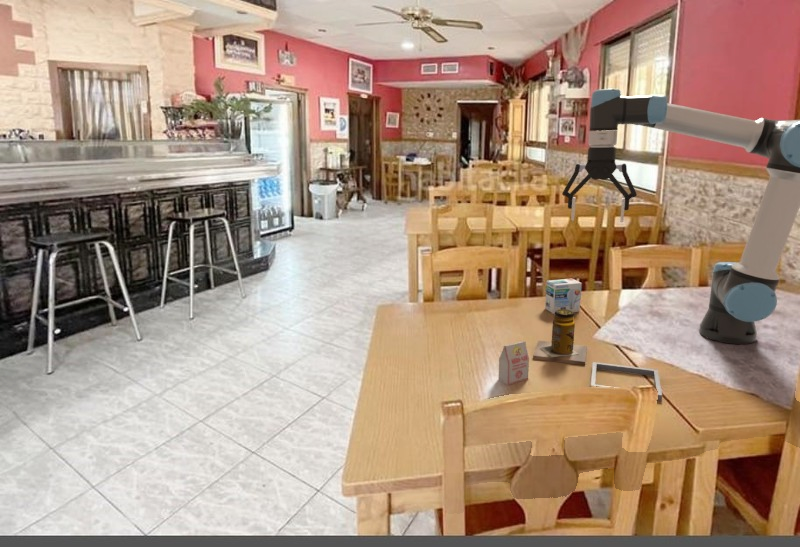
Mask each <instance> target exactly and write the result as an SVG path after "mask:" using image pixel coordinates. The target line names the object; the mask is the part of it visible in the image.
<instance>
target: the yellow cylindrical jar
mask: <svg viewBox="0 0 800 547" xmlns="http://www.w3.org/2000/svg"><path fill="white" fill-rule="evenodd" d="M553 318H554V319H553V320H552V330H551V331H552V332H551V342H552V345H551V346H547V347H540V348H541V349H542V350H543V351H544V352H545V353H546V354H548V355H549V356H551V357H558V356H569V355H577V354H578V353H577V352H575V351H574V350H573V345H575V344H574V341H575V326H576V325H575V324H576V322H575V312H572V311H570V310H565V309H559V310H556V311H555V314H554V317H553Z"/></svg>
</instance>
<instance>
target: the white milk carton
mask: <svg viewBox="0 0 800 547" xmlns="http://www.w3.org/2000/svg"><path fill="white" fill-rule="evenodd" d="M529 367H530V357H529V353H528V349H527V344H526V341H525V340H524V341H518V342H516V343H511V344H507V345H503V348H502V351H501V354H500V356H499V358H498V381H500V382H502V383H503V384H505V385H507V386H509V385H514V384H516V383H519V382H520V383H521V382H523V381H524V382H525V381H528V380H529V372H530V371H529Z"/></svg>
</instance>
